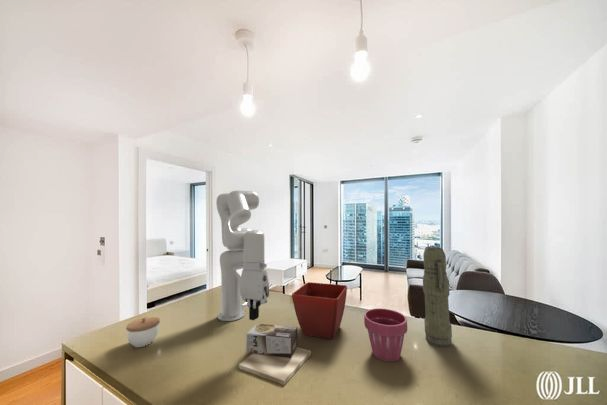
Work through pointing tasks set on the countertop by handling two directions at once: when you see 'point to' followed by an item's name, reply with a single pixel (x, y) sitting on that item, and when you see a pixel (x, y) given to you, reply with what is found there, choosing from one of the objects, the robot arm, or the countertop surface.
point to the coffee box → (272, 340)
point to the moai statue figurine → (436, 298)
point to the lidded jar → (142, 331)
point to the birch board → (275, 365)
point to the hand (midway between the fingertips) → (254, 318)
